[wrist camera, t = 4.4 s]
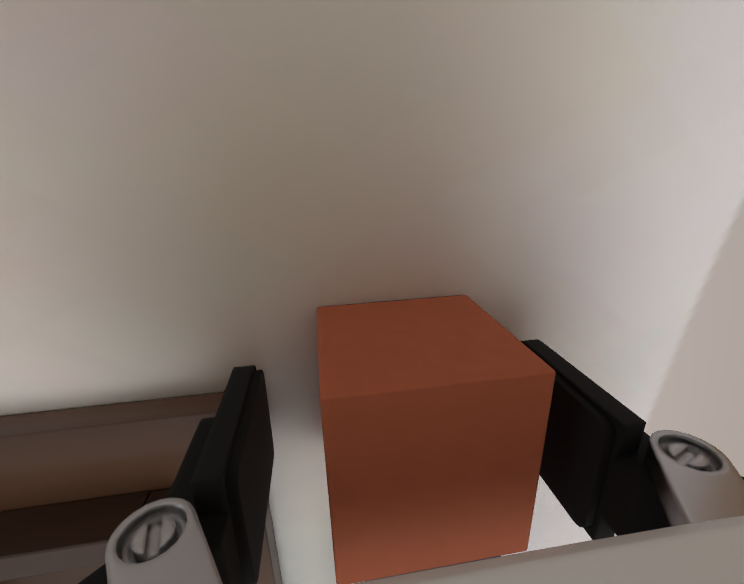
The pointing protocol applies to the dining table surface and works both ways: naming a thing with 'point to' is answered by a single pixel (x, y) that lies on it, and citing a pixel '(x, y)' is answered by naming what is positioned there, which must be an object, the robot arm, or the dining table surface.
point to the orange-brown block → (427, 434)
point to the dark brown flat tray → (92, 483)
